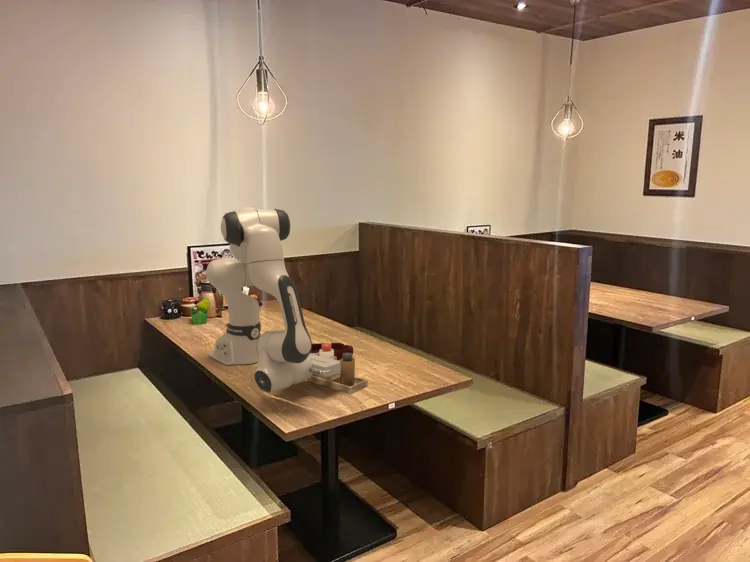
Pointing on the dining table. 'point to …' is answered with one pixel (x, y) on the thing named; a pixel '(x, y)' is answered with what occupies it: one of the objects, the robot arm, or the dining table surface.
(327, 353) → the white shaker
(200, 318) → the fruit basket
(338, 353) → the ashtray
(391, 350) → the dining table surface
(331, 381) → the caddy
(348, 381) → the brown soy bottle
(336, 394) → the dining table surface
